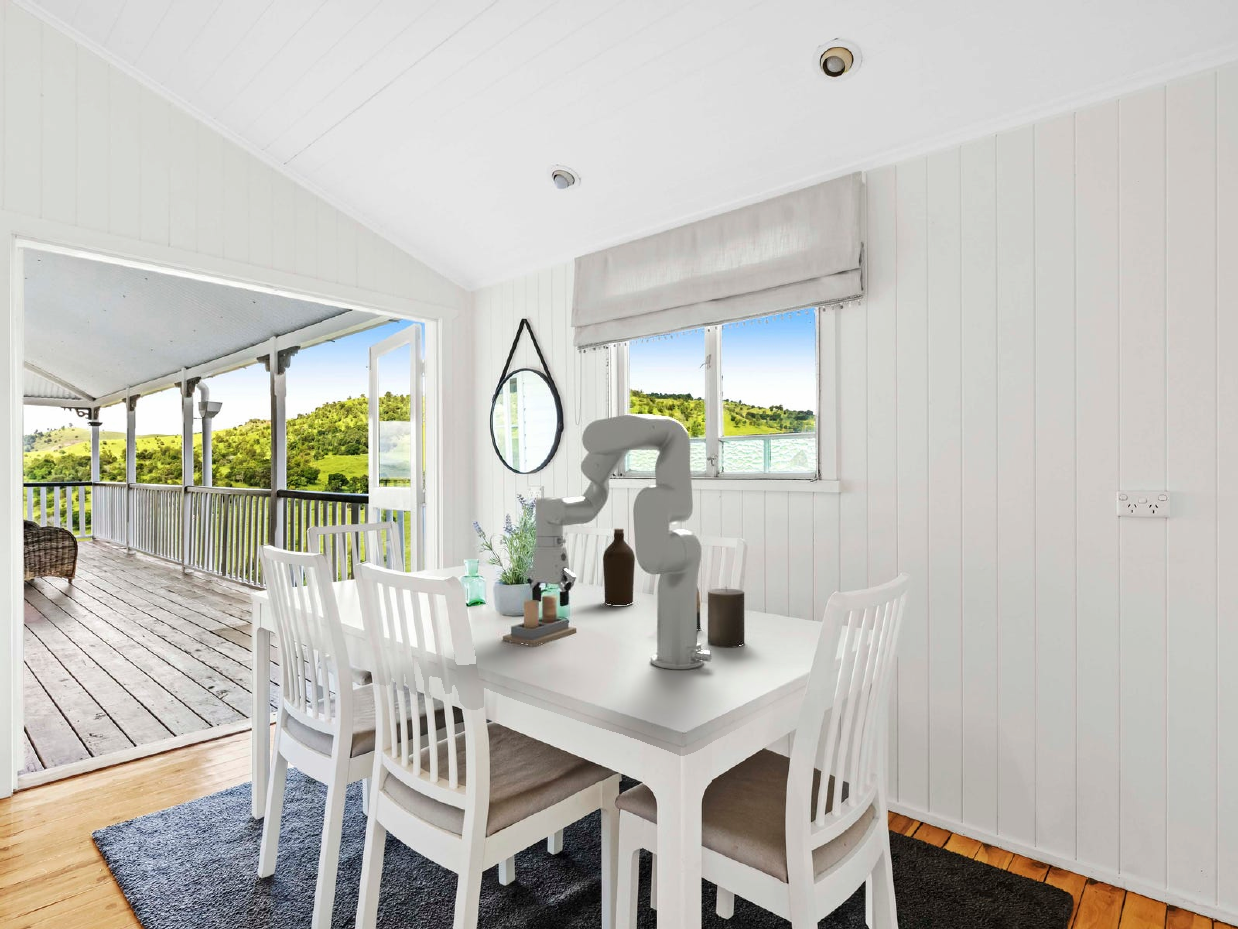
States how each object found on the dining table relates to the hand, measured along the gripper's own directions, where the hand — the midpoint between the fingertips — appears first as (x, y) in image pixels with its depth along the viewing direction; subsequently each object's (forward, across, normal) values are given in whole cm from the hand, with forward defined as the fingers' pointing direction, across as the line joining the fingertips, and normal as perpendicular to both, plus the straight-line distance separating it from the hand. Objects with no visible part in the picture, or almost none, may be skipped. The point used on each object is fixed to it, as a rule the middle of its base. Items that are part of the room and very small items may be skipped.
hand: (550, 603), depth 198 cm
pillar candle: (+9, -44, -18) cm, 49 cm away
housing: (+8, +1, +4) cm, 9 cm away
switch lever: (+7, +1, 0) cm, 7 cm away
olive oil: (+8, +7, -44) cm, 46 cm away
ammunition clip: (+9, -27, -25) cm, 38 cm away
